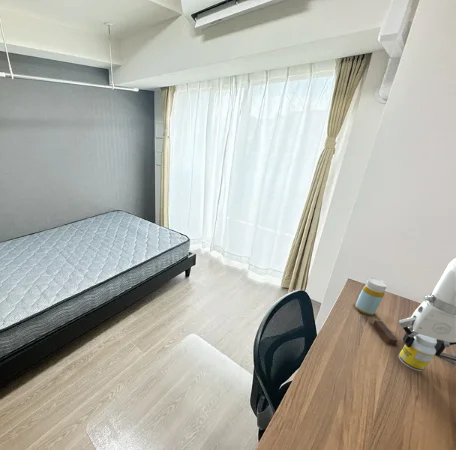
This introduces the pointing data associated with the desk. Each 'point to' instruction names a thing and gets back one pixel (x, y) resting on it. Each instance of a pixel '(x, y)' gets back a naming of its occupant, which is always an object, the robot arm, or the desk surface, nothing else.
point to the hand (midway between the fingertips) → (420, 347)
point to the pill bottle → (419, 352)
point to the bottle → (371, 296)
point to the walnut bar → (385, 332)
